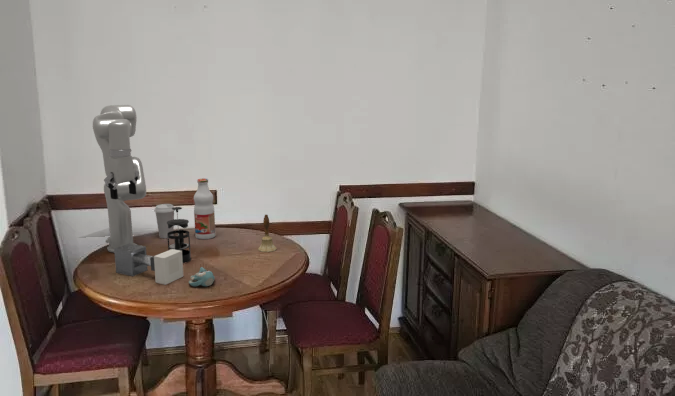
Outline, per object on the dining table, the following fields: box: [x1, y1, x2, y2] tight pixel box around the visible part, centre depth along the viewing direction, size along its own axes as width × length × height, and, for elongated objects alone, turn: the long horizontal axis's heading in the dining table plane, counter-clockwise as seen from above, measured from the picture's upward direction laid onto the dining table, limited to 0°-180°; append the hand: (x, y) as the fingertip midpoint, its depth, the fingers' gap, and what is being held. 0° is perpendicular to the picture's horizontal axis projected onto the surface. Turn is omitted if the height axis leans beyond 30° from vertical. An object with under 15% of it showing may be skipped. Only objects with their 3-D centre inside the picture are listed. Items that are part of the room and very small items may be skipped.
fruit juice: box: [193, 177, 216, 240], centre depth 288 cm, size 9×9×28 cm
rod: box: [133, 253, 157, 272], centre depth 237 cm, size 19×5×5 cm, turn 64°
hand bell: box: [257, 214, 277, 253], centre depth 270 cm, size 8×8×16 cm
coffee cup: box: [154, 203, 176, 239], centre depth 289 cm, size 10×10×15 cm
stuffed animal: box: [188, 266, 215, 288], centre depth 231 cm, size 11×7×12 cm
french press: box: [167, 206, 192, 264], centre depth 255 cm, size 12×9×23 cm
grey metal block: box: [114, 243, 149, 277], centre depth 242 cm, size 9×8×10 cm
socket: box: [153, 249, 184, 286], centre depth 234 cm, size 5×10×10 cm, turn 154°
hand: (123, 196), depth 240 cm, fingers open, 9 cm apart
